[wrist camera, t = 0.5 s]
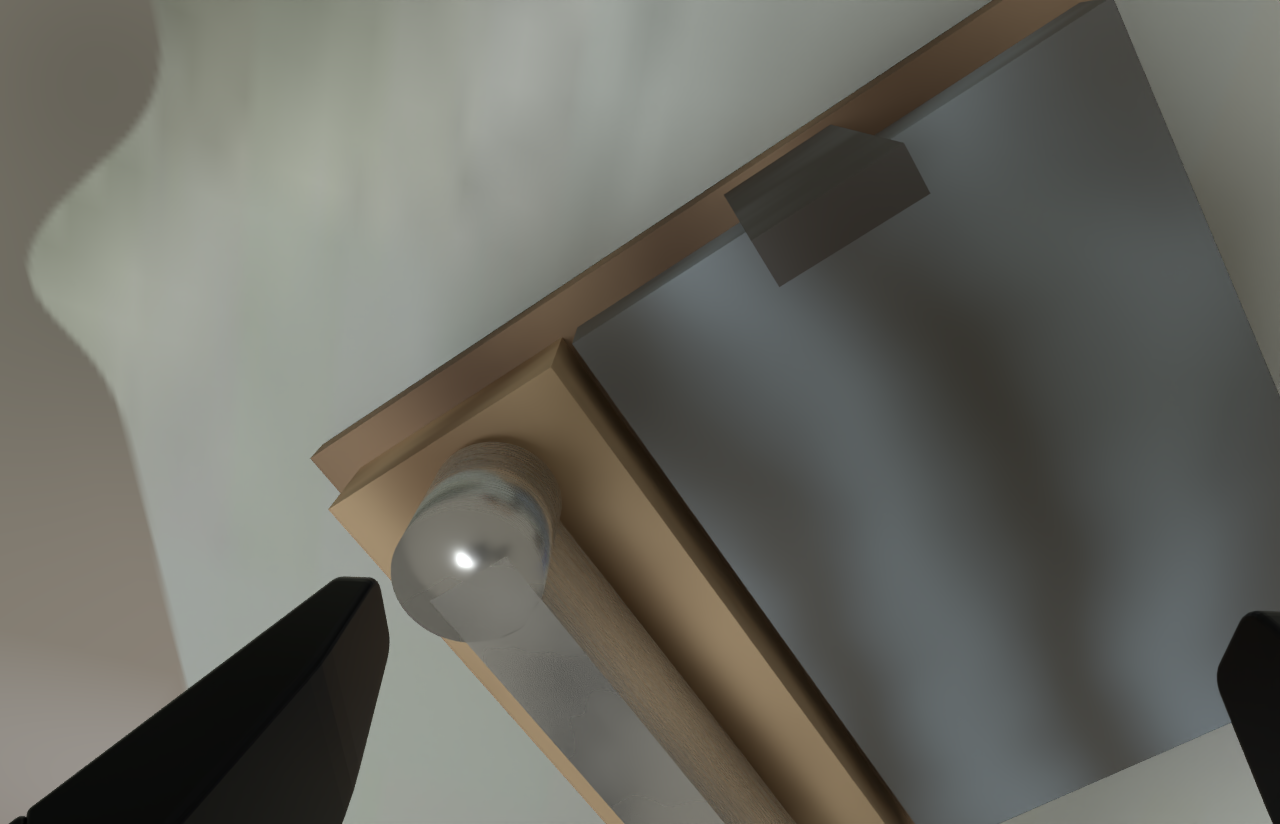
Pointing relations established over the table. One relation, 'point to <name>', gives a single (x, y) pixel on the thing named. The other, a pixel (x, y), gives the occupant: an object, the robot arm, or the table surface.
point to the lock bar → (567, 643)
